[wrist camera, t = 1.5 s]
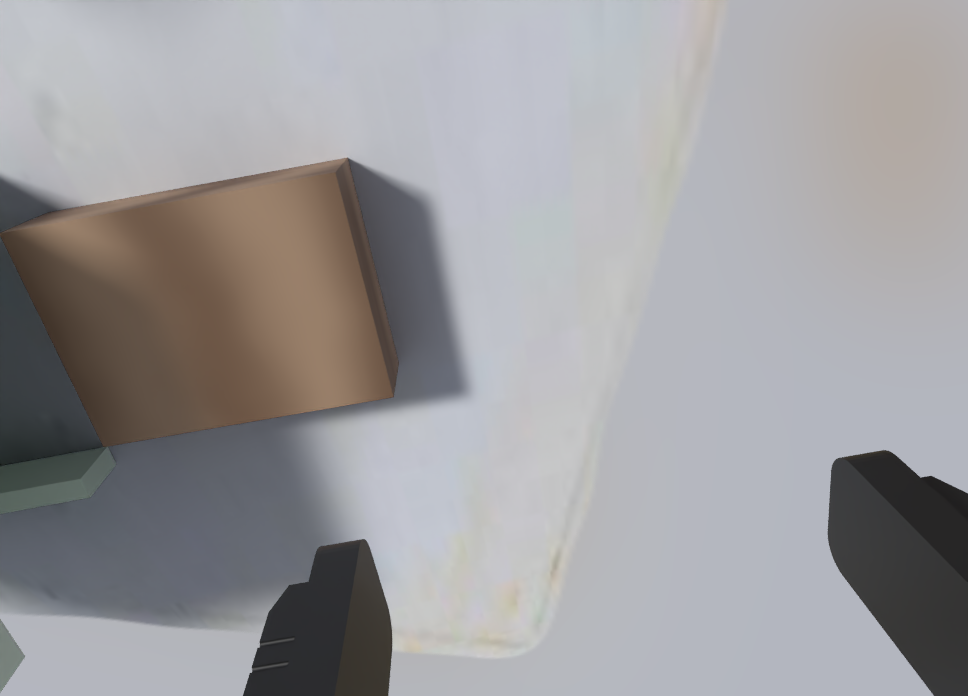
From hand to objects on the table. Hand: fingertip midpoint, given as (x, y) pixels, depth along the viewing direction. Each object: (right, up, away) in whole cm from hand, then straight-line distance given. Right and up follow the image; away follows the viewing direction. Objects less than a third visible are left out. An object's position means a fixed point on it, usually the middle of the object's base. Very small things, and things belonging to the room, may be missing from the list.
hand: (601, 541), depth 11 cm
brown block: (-12, +6, +17) cm, 22 cm away
